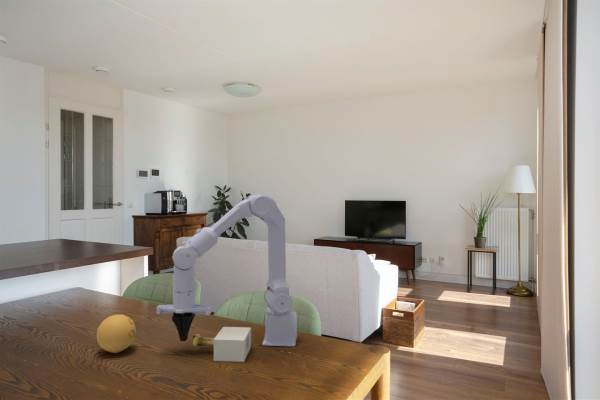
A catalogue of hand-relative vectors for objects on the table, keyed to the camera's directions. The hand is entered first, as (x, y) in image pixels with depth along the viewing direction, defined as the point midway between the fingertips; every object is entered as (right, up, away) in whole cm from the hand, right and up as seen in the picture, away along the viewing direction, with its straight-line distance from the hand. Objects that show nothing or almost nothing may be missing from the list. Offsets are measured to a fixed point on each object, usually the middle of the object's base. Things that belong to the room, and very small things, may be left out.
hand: (183, 339), depth 111 cm
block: (+14, -4, -1) cm, 14 cm away
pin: (+9, -2, 0) cm, 10 cm away
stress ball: (-18, -3, 0) cm, 19 cm away
